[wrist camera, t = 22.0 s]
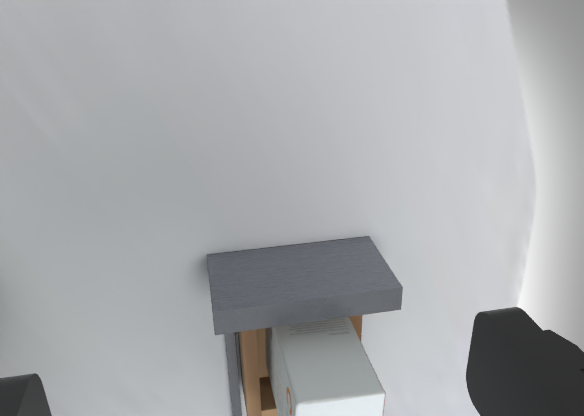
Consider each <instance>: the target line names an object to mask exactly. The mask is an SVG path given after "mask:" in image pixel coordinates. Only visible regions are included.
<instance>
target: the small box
mask: <svg viewBox="0 0 584 416" xmlns="http://www.w3.org/2000/svg"><path fill="white" fill-rule="evenodd" d="M266 365H267V369H268V374H269V378H270V383H271V387H272V391H273V395H274V399H275V404H276V408H277V413H278V416H383V412H384V403H385V395H386V393H385V391H384V389H383V387H382V385H381V383H380V381H379V379H378V377H377V375H376V373H375V371H374V369H373V366H372V364H371V362H370V360H369V358H368V356H367V354H366V352H365V350H364V348H363V345H362V343H361V341H360V339H359V337H358V335H357V333H356V331H355V329H354V327H353V324H352V322H351V320H350V318H349V317H343V318H335V319H328V320H321V321H314V322H306V323H299V324H292V325H285V326H277V327H270V328H266Z"/></svg>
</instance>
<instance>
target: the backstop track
mask: <svg viewBox="0 0 584 416" xmlns="http://www.w3.org/2000/svg"><path fill="white" fill-rule="evenodd" d="M207 262H208V272H209V282H210V292H211V302H212V312H213V322H214V331H215V335H219V334H225V337H226V348H227V358H228V369H229V380H230V390H231V401H232V412H233V416H242V414H241V402H240V390H239V378H238V366H237V354H236V343H235V332H241V331H248V330H255V329H263V328H270V327H277V326H285V325H292V324H299V323H306V322H314V321H321V320H328V319H335V318H343V317H350V316H357V315H364V314H372V313H379V312H386V311H394V310H401V302H402V289H403V287H402V286H401V284H400V283H399V281H398V280H397V278H396V277H395V275H394V274H393V272H392V271H391V269H390V267H389V266H388V264H387V263H386V261H385V260H384V258H383V257H382V255H381V254H380V252H379V251H378V249H377V248H376V246H375V245H374V243H373V242H372V240H371V239H370V237H369V236H367V237H358V238H350V239H341V240H332V241H323V242H315V243H306V244H297V245H288V246H279V247H271V248H262V249H253V250H244V251H236V252H227V253H218V254H209V255H207Z"/></svg>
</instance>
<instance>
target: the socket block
mask: <svg viewBox="0 0 584 416" xmlns="http://www.w3.org/2000/svg"><path fill="white" fill-rule="evenodd" d="M349 318H350V320H351V322H352V324H353V327H354V329H355V331H356V333H357V335H358V337H359V339H360V341H361V331H362V315H357V316H350V317H349ZM238 338H239V350H240V363H241V375H242V385H243V392H244V398H245V405H246V412H247V416H278V413H277V408H276V404H275V399H274V395H273V391H272V387H271V383H270V378H269V374H268V369H267V365H266V328H263V329H255V330H248V331H241V332H238Z"/></svg>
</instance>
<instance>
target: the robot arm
mask: <svg viewBox="0 0 584 416" xmlns="http://www.w3.org/2000/svg"><path fill="white" fill-rule="evenodd" d="M466 382H467V388H468V392H469V395H470V398H471V400H472V403H473V405H474V406H475V408H476V410H477V411H478V413H479V414H480V416H584V352H583V351H582V350H580V348H579V347H578V346H577V345H575V344H573V343H571V342H570V341H568V340H566V339H565V338H563V337H561V336H559V335H558V334H556V333H554V332H553V331H551V330H544V331H543V330H542V329H541V328H540V327H539V326H538V325H537V324H536V323H535V322H534V321H533V320H532V319H531V318H530V317H529V316H528V315H527V313H526V312H525V311H523V310H522V309H521V308H518V307H513V308H506V309H498V310H491V311H484V312H480V313H478V314H477V315H476V317H475V320H474V326H473V332H472V338H471V345H470V351H469V358H468V364H467V371H466ZM0 416H52V415H51V412H50V409H49V405H48V402H47V398H46V395H45V391H44V388H43V385H42V381H41V379H40V377H39V376H38V375H37V374H28V375H21V376H14V377H6V378H0Z"/></svg>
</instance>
